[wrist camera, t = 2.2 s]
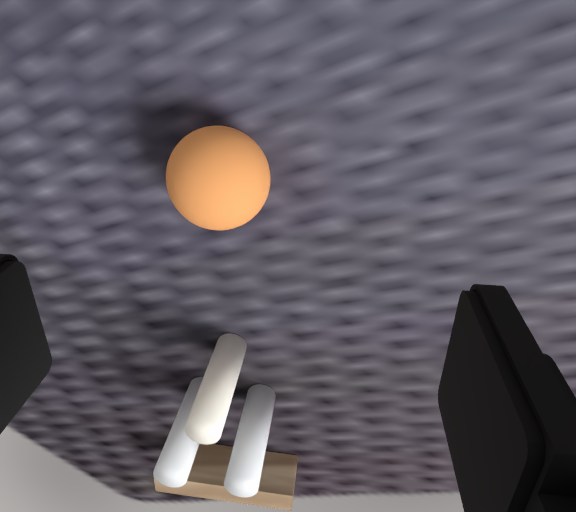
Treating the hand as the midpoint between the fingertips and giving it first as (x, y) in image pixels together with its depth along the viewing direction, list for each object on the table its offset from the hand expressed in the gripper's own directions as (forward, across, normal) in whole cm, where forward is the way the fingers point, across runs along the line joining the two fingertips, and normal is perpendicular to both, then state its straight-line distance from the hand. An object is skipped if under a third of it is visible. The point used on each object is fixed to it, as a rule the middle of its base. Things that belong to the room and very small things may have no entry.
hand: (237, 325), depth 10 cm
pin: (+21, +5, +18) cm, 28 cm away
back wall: (+21, +6, +31) cm, 38 cm away
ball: (+18, +5, +3) cm, 18 cm away
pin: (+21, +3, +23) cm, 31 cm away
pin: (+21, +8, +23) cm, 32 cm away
